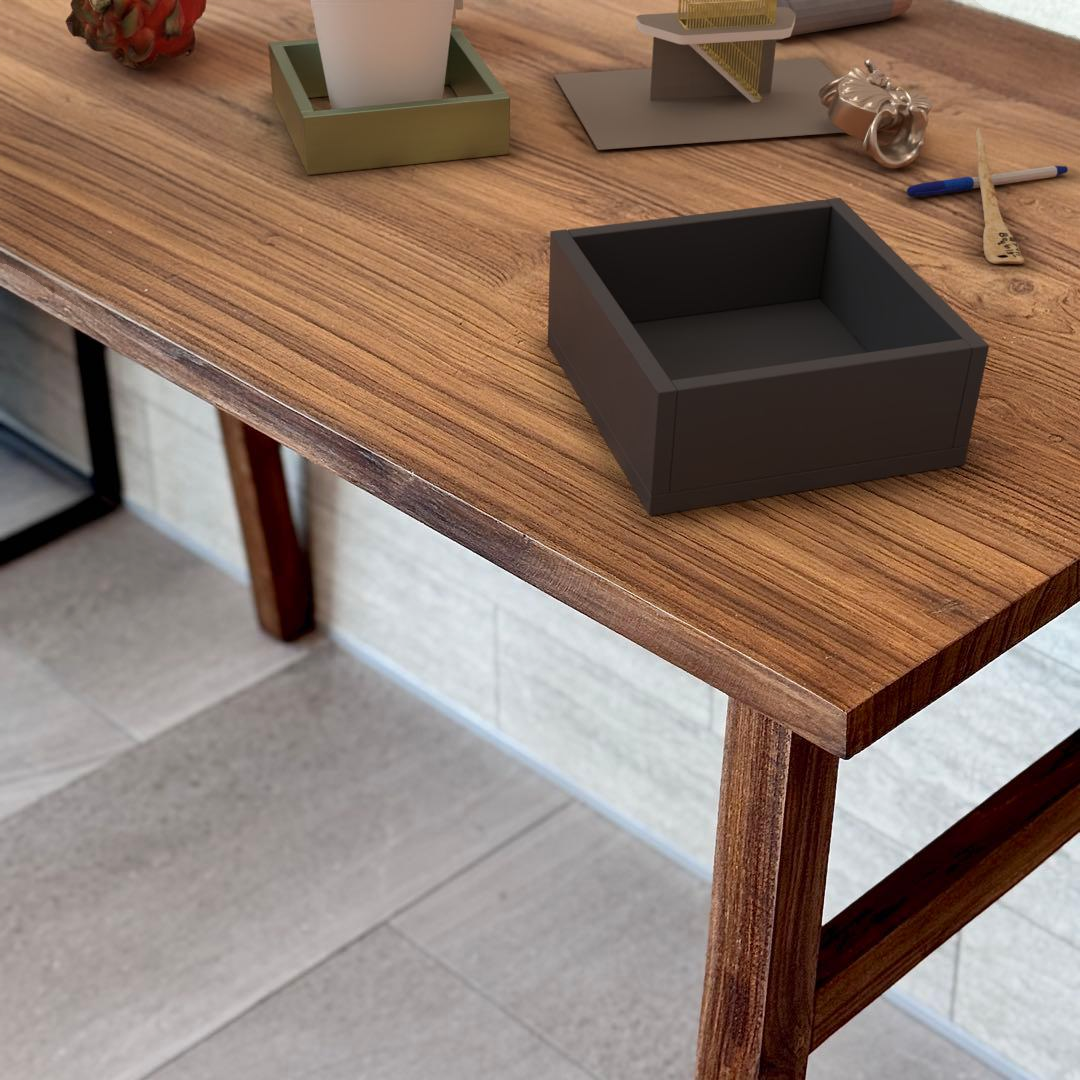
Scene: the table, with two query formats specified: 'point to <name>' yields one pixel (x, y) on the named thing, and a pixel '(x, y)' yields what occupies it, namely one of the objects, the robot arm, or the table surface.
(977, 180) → the ballpoint pen
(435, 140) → the olive square frame
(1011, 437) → the table surface
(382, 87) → the foam cup
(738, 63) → the platform
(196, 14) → the dragon fruit
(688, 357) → the dark grey square tray
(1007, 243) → the tool
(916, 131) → the ornament
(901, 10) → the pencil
